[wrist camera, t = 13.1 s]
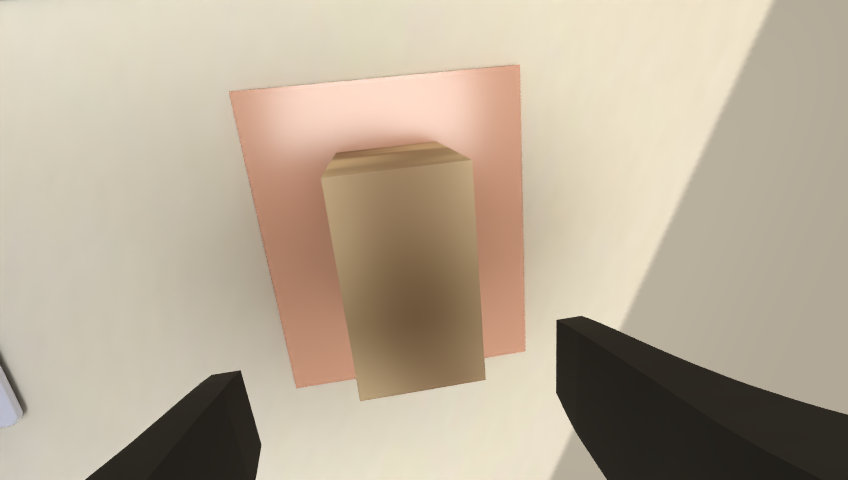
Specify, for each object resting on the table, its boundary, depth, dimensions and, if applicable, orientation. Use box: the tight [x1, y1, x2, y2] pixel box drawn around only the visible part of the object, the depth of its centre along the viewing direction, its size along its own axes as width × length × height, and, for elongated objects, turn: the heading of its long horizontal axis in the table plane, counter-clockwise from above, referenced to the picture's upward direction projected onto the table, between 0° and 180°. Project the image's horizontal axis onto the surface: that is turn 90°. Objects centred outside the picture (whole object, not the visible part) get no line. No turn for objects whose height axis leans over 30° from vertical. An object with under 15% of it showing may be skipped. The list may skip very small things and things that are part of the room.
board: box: [229, 65, 525, 388], centre depth 18 cm, size 11×13×1 cm
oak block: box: [321, 141, 486, 401], centre depth 15 cm, size 4×7×6 cm, turn 6°
